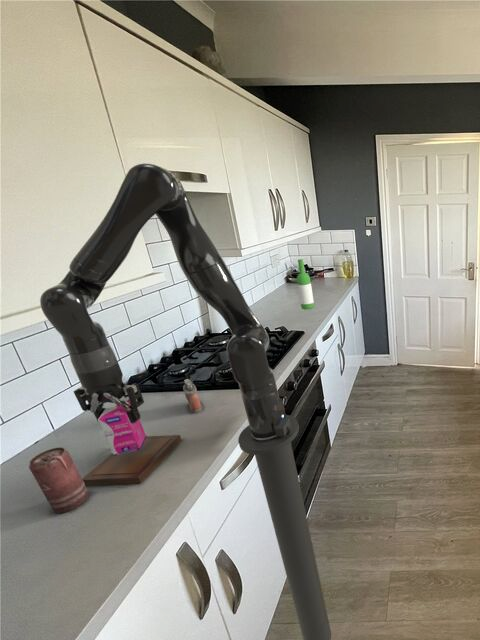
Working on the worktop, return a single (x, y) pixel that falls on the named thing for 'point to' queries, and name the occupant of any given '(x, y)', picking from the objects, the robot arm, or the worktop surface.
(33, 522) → the worktop surface
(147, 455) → the board
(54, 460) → the can
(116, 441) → the supplement box
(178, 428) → the worktop surface
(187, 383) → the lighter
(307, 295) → the wine bottle
